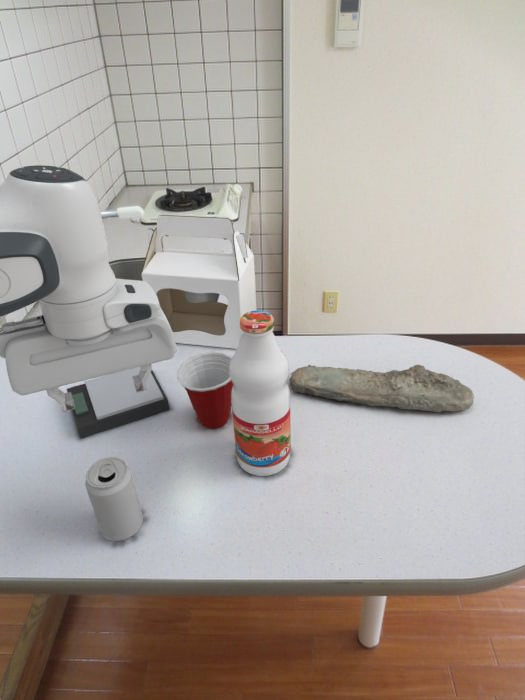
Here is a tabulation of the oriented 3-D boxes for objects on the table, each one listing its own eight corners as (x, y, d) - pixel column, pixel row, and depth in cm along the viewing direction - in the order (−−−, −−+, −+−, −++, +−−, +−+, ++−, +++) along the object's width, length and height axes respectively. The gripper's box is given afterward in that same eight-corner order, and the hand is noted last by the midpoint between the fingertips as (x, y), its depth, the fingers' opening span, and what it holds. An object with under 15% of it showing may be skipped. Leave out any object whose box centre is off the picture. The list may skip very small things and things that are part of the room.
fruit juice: (291, 438, 94) (291, 302, 78) (289, 479, 86) (288, 337, 70) (239, 436, 95) (228, 301, 79) (232, 476, 87) (218, 335, 71)
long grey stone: (295, 373, 112) (286, 406, 104) (293, 354, 108) (284, 386, 101) (470, 385, 103) (474, 421, 96) (474, 365, 100) (478, 400, 92)
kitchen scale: (80, 438, 96) (76, 425, 94) (69, 398, 106) (65, 385, 104) (169, 409, 102) (167, 396, 100) (151, 373, 111) (148, 361, 110)
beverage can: (101, 548, 77) (82, 494, 70) (101, 514, 82) (83, 460, 75) (145, 537, 78) (131, 483, 71) (142, 504, 83) (128, 450, 76)
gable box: (258, 319, 128) (252, 207, 112) (244, 350, 117) (236, 231, 101) (172, 312, 132) (155, 203, 116) (152, 341, 122) (130, 226, 106)
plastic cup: (179, 407, 102) (171, 357, 95) (233, 395, 105) (228, 345, 98) (190, 445, 94) (181, 393, 87) (248, 431, 96) (244, 379, 89)
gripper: (-14, 341, 56) (23, 435, 64) (172, 301, 62) (185, 392, 70) (-13, 314, 61) (22, 405, 69) (160, 279, 67) (173, 366, 75)
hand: (105, 398), depth 70 cm, fingers open, 8 cm apart
